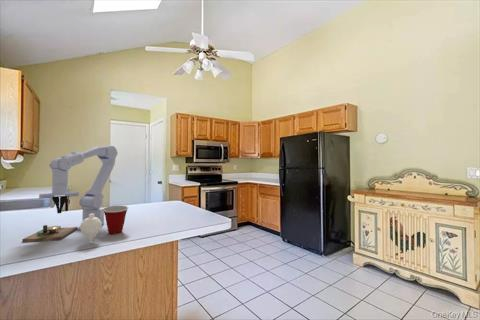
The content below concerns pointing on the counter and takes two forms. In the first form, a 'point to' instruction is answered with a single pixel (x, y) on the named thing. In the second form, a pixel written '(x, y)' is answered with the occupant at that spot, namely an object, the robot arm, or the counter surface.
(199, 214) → the counter surface
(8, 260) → the counter surface
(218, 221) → the counter surface
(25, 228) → the counter surface
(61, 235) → the dial board
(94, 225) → the cream vase
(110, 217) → the plastic cup
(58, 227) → the dial
